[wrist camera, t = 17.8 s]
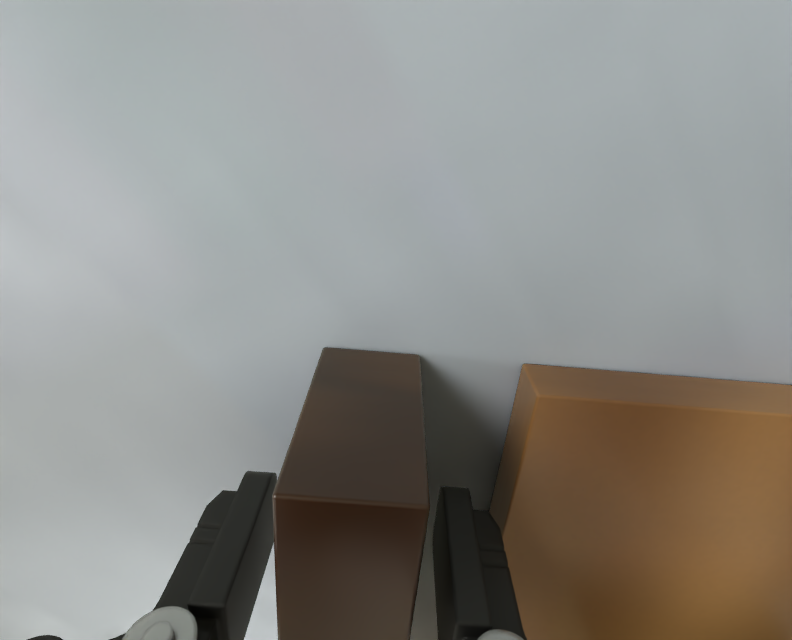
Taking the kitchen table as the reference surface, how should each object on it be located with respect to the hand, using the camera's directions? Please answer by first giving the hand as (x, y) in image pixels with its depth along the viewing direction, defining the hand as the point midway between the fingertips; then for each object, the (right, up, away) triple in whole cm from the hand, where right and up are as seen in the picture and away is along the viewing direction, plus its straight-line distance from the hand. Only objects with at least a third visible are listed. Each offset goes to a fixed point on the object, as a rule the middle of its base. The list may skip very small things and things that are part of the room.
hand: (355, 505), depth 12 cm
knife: (0, -3, +3) cm, 4 cm away
